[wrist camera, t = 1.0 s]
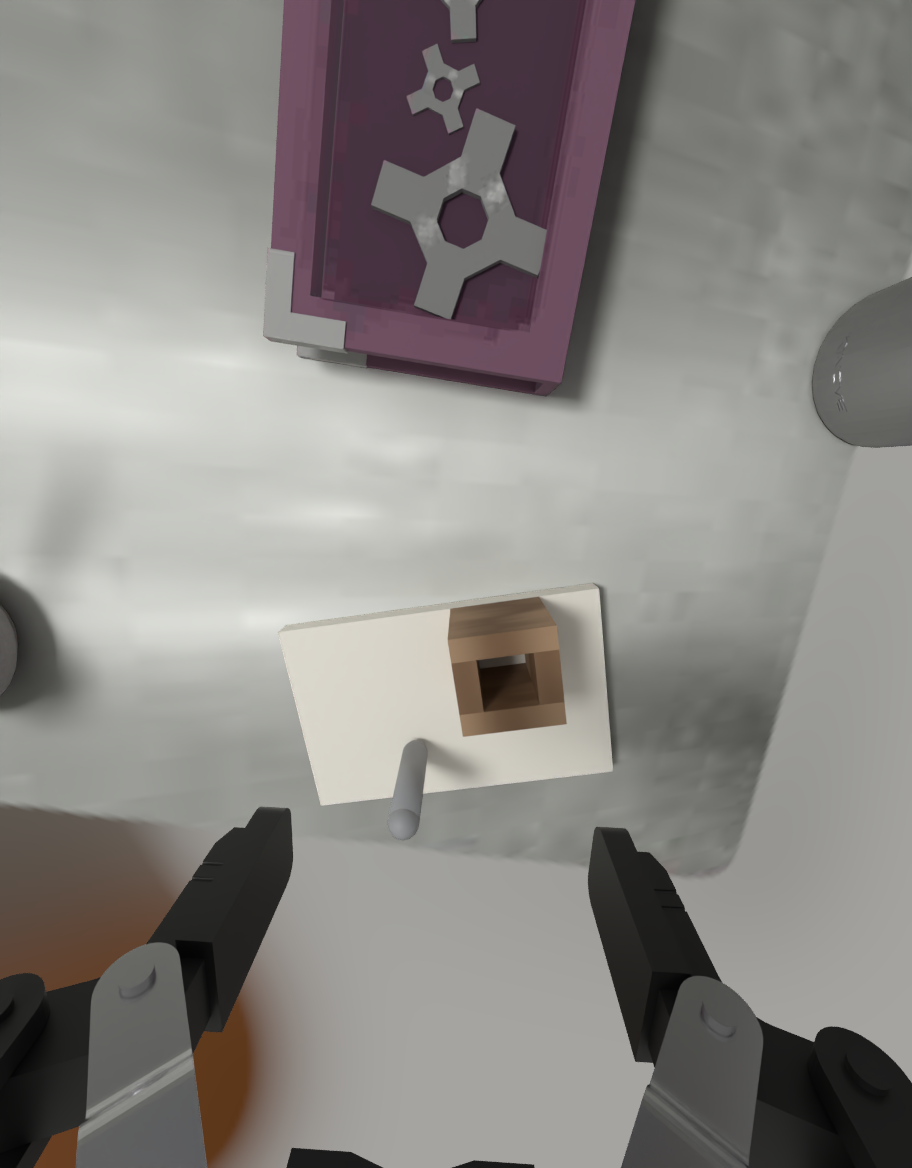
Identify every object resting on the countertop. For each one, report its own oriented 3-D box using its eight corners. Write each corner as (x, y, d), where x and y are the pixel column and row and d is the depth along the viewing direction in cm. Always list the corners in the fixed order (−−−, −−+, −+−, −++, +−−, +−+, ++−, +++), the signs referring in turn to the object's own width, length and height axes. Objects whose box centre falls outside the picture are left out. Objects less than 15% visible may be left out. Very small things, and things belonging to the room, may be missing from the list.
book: (331, -176, 23) (297, -345, 19) (641, -117, 24) (688, -268, 19) (296, 358, 29) (263, 336, 24) (544, 399, 30) (560, 385, 25)
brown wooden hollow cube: (539, 596, 31) (556, 625, 25) (547, 678, 32) (566, 724, 26) (450, 608, 31) (447, 640, 25) (462, 689, 32) (462, 736, 27)
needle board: (592, 583, 32) (648, 630, 22) (606, 758, 35) (660, 866, 26) (286, 625, 33) (213, 687, 23) (326, 792, 36) (277, 907, 27)
